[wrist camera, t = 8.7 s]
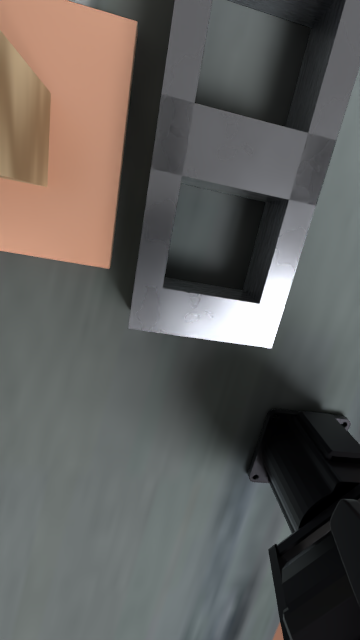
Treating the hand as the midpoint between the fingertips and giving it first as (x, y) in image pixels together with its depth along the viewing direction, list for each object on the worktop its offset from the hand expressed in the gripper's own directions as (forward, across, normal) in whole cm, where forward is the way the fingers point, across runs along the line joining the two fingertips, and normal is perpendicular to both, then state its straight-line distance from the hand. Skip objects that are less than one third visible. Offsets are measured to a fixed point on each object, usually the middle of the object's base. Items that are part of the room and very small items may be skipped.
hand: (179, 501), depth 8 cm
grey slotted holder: (+12, -2, -10) cm, 16 cm away
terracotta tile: (+12, +9, -9) cm, 17 cm away
